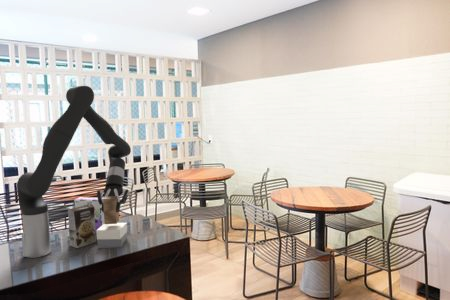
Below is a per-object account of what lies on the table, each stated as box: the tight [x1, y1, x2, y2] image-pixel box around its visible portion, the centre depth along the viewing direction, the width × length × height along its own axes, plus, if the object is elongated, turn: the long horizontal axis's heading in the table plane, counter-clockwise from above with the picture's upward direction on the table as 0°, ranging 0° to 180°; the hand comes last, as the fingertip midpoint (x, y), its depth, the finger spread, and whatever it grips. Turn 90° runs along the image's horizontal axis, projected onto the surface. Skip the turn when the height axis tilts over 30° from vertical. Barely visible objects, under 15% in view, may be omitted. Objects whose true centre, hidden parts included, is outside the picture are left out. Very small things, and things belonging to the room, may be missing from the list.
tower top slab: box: [96, 222, 128, 241], centre depth 153 cm, size 10×10×4 cm
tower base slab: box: [96, 232, 128, 249], centre depth 154 cm, size 10×10×4 cm
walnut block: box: [103, 196, 120, 224], centre depth 153 cm, size 5×5×11 cm
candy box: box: [73, 196, 104, 235], centre depth 169 cm, size 14×6×16 cm, turn 81°
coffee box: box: [67, 205, 97, 249], centre depth 153 cm, size 9×6×16 cm
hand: (110, 211), depth 151 cm, fingers closed on walnut block, 5 cm apart
